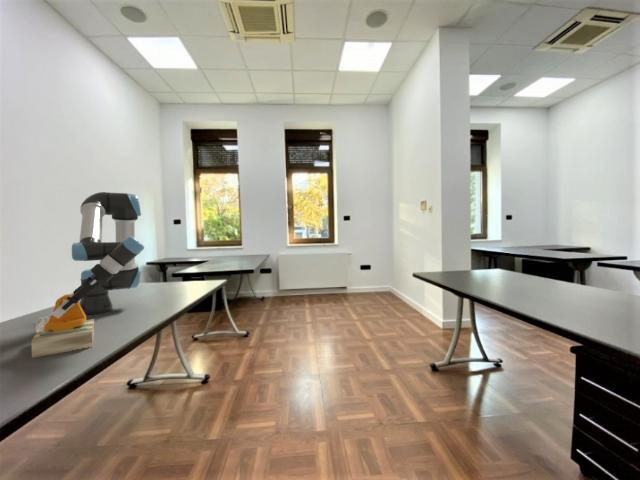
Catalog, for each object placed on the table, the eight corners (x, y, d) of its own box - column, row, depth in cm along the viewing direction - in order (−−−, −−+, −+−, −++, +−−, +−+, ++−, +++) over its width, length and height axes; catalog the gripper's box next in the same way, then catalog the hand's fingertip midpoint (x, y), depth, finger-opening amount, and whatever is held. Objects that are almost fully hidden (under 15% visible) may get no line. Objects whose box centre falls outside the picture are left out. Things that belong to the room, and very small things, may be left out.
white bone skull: (69, 319, 131) (72, 307, 126) (72, 336, 127) (75, 324, 122) (32, 326, 122) (33, 313, 117) (34, 344, 118) (36, 332, 113)
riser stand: (41, 341, 112) (41, 325, 112) (94, 333, 121) (94, 318, 121) (31, 358, 97) (31, 339, 97) (92, 346, 107) (91, 329, 106)
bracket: (43, 333, 103) (42, 299, 103) (50, 327, 109) (49, 295, 109) (81, 328, 108) (81, 296, 108) (86, 322, 115) (85, 292, 114)
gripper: (115, 278, 108) (62, 326, 99) (114, 271, 128) (70, 310, 119) (97, 265, 104) (41, 313, 96) (99, 260, 124) (53, 299, 116)
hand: (57, 312), depth 108 cm, fingers open, 13 cm apart
